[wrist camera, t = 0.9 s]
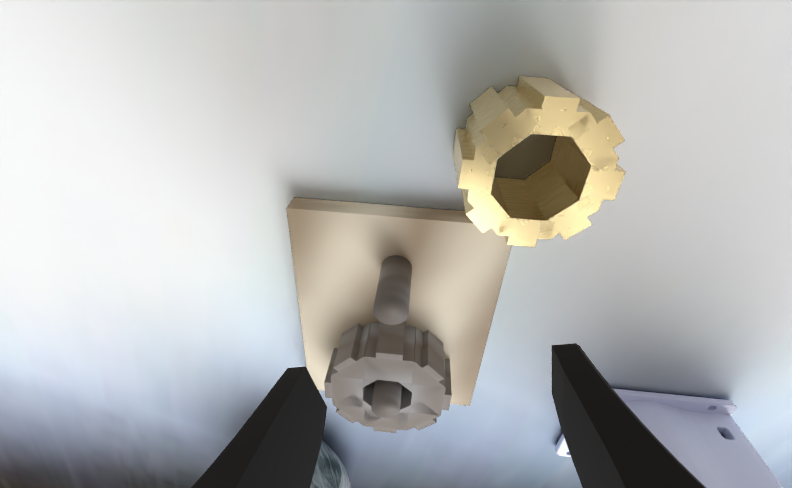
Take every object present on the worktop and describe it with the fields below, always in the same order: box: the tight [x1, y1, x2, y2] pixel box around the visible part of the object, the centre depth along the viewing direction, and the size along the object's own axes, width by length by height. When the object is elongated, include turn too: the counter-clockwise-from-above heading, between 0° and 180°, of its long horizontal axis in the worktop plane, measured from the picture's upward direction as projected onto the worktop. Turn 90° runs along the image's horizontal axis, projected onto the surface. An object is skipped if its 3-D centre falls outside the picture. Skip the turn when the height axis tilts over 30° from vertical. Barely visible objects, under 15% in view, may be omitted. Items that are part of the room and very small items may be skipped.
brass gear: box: [453, 76, 626, 247], centre depth 15 cm, size 6×6×4 cm
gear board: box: [286, 197, 511, 433], centre depth 20 cm, size 11×14×4 cm
